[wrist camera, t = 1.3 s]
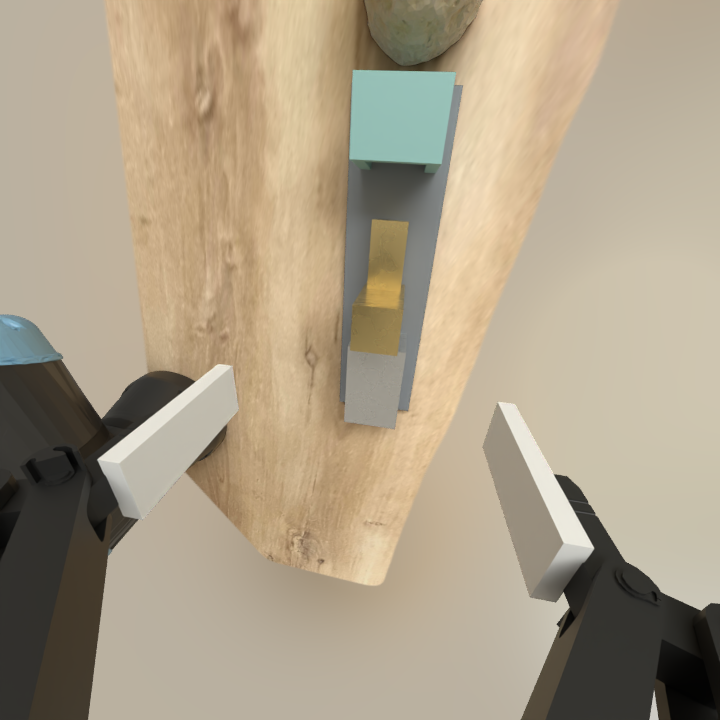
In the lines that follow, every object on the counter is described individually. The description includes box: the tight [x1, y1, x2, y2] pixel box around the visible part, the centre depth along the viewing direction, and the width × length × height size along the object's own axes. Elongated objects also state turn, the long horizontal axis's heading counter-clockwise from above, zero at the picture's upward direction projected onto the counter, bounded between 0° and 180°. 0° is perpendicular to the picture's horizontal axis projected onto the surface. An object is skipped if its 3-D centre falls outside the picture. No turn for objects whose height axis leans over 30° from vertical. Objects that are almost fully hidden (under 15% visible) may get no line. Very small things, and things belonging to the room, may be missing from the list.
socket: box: [349, 70, 456, 173], centre depth 23 cm, size 7×5×6 cm
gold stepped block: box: [350, 219, 409, 356], centre depth 29 cm, size 4×20×9 cm, turn 176°
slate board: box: [340, 85, 463, 411], centre depth 32 cm, size 9×32×1 cm, turn 177°
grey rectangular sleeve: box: [344, 333, 407, 429], centre depth 34 cm, size 6×10×5 cm, turn 177°
